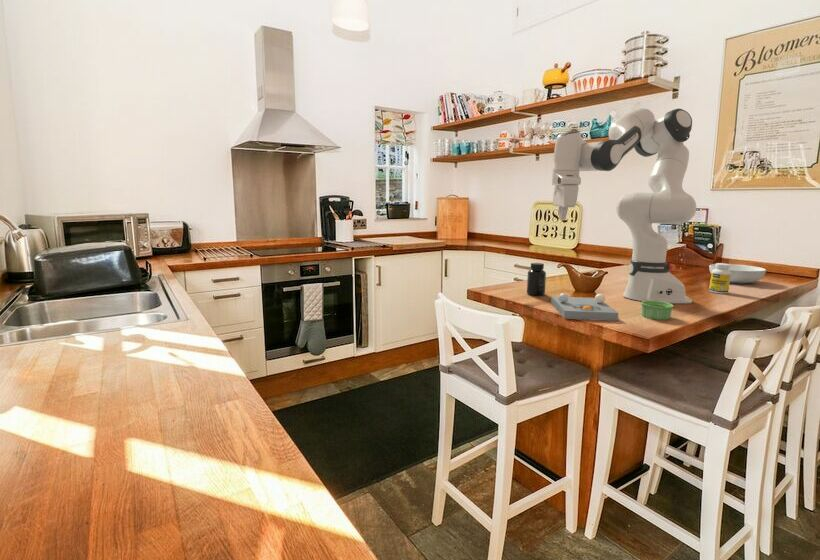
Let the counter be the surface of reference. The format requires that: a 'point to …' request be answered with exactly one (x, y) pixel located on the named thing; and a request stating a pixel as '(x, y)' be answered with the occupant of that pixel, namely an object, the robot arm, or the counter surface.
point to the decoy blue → (563, 297)
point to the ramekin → (656, 310)
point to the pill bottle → (720, 279)
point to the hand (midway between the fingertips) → (562, 219)
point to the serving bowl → (743, 273)
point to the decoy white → (599, 298)
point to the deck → (575, 311)
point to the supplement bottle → (536, 280)
